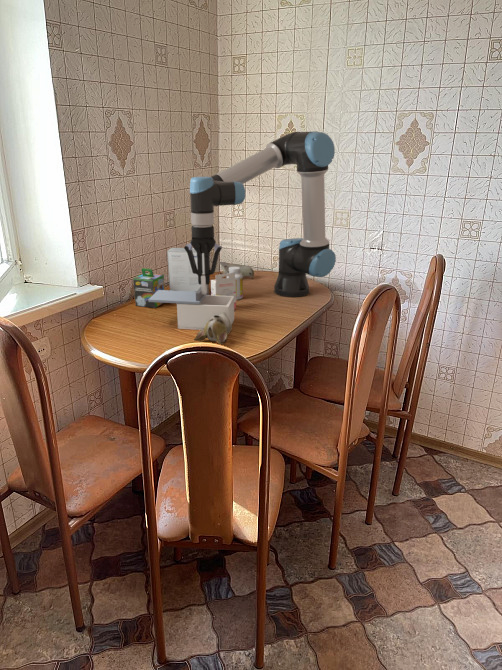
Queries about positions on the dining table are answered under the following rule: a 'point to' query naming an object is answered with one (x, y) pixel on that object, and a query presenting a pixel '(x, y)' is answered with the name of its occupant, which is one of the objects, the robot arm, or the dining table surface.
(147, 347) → the dining table surface
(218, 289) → the ink cartridge box
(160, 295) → the lid
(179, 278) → the hard drive box
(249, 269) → the decorative bird
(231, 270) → the supplement bottle
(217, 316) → the ceramic sculpture
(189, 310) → the box
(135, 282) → the chalk box
